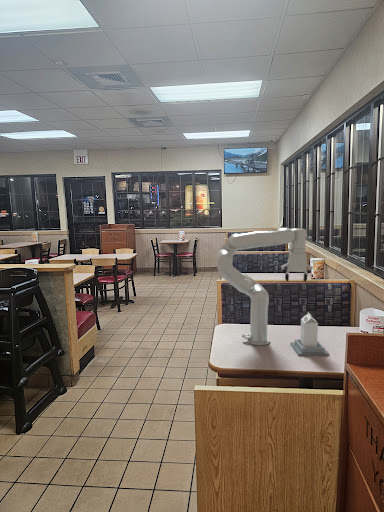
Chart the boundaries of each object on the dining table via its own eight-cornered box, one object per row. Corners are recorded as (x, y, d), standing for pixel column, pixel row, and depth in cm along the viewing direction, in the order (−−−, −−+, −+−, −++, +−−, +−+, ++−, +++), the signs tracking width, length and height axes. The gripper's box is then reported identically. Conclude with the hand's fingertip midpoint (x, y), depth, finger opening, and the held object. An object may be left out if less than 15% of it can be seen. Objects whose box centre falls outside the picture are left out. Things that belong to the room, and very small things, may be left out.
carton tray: (298, 355, 185) (298, 349, 184) (290, 344, 200) (290, 338, 199) (329, 355, 185) (329, 349, 184) (318, 343, 200) (318, 337, 199)
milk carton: (313, 345, 195) (314, 311, 192) (316, 350, 188) (318, 316, 185) (299, 344, 196) (301, 311, 193) (303, 350, 189) (304, 316, 186)
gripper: (283, 251, 193) (281, 282, 195) (315, 252, 192) (313, 283, 194) (280, 249, 200) (279, 279, 203) (311, 250, 199) (309, 280, 202)
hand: (295, 281), depth 199 cm, fingers open, 9 cm apart
